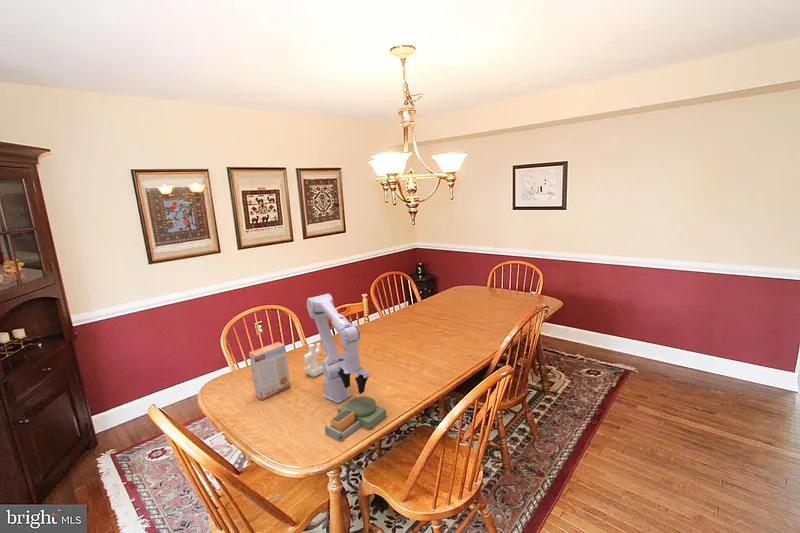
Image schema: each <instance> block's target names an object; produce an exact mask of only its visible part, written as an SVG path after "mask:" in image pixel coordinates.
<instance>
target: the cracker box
mask: <svg viewBox="0 0 800 533" xmlns="http://www.w3.org/2000/svg"><path fill="white" fill-rule="evenodd" d="M248 355H249V361H250V367H251V374H252V379H253V384H254V385H253V386H254V392H255V396H256V397H257V398H258V399H259V400H260V401H265V400H267V399H268V398H271V397H273V396H275V395H277V394H279V393H282V392H284V391H285V390H288V389H291V381H290V373H289V366H288V360H287V358H288V357H287V354H286V346H285V344H284V343H281V342H280V341H277V342H274V343H272V344H269V345H265V346H262V347H260V348H257V349H254V350H252V351H248Z"/></svg>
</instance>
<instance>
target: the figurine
mask: <svg viewBox="0 0 800 533" xmlns="http://www.w3.org/2000/svg"><path fill="white" fill-rule="evenodd" d="M321 345H322V343H320V342H316V345H315V344H314V343H310V344H309V345H308V350H309V351H308V352H307V353H305V354H304V355H303V362H304V366H305V367H303V370H304V372H305V373H306V374H308V376H310V377H312V378H315V377H318V376H319V375H321V374H322V373H323V367H322V363H321V364H320V363H319V362H318V361H317V356H318V355H321V353H322V347H321ZM309 360H310V361H309Z"/></svg>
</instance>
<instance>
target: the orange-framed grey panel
mask: <svg viewBox="0 0 800 533" xmlns="http://www.w3.org/2000/svg"><path fill="white" fill-rule="evenodd" d="M354 423H355V415H354V412H353V411H351V410H348V409H345V410H344V411H342V412H341V413H339V414H338V413H337V415H335V416H333V417H332V418H331V419H330V425H331V427H333V428H335V429H337V430H339V431H341V432H343V431H344V430H346V429H347V428H349V427H350V426H351V425H353V424H354Z"/></svg>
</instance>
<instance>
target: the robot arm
mask: <svg viewBox="0 0 800 533" xmlns="http://www.w3.org/2000/svg"><path fill="white" fill-rule="evenodd" d="M306 308H307V311H308V314H309V317H310V318H311V319H312V320H314V322H315V324H316V328H317V331H318V333H319V337H320V341H321V345H322V347H323V351H324V352H325V358H324V359H323V361H322V363H321V365H322V367H323V371H322V373H323V376H324V379H323V387H324V388H323V389H324V395H323V398H325V399H328V400H330V401H332V402H335V403H337V404H340V403H342V402H343V401H344V400H346V399H348V398H349V397H351V396H352V395H353V393H351V392H349V391H348V388H349V387H351V375H357V377H355V378H354V380H355V382H356V384H357V389H358V393H359V394H360V395H362V394H363V393H365V389H366V384H367V381H368V379H369V377H370V374H369V371H367V370H366V369H365V368H363V367H362V366H361V364H360V362H361V361H360V353H359V352H360V350H359V340H360V339H361V331H360V328H359V327H358V325H356V324H352V323H350V321H349V320H348V318H346V317H345V316H344V315H343V314H340V313H339V311H338V310H337V309H336V307H335V305H334V298H333V296H332V295H331V294H330V293H326V294H321V295H318V296H313V297H308V298H307V300H306ZM327 317H328V318H329V319H330V320H331V326H332V327H333V328H334V329H335V331H336V332H337V333H338V337H339V341H340V345H341V347H342V351H343V354H342V353H339V352H338V349H337V346H336V344H335V340H334V337H333V334H332V331H331V330H332V329H331V327H330V325H329V322H328V318H327Z"/></svg>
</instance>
